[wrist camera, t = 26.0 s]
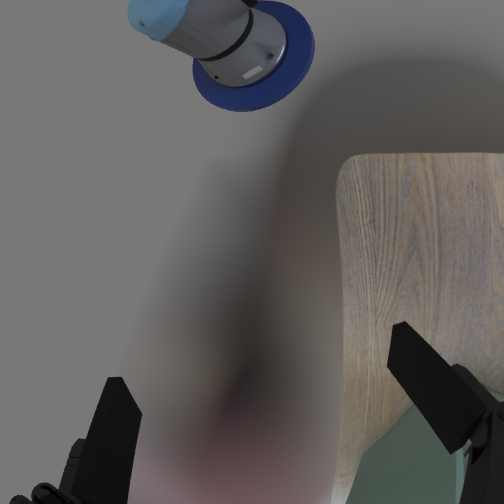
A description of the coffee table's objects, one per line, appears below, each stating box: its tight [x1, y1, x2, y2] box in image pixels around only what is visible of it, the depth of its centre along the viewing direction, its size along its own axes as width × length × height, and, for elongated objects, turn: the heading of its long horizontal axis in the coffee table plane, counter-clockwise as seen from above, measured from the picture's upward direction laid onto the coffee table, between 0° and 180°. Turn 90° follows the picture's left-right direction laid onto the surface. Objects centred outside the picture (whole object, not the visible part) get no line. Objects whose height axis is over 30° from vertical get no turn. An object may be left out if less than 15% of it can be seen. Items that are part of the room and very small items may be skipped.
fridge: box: [346, 384, 504, 504], centre depth 22 cm, size 24×21×24 cm
